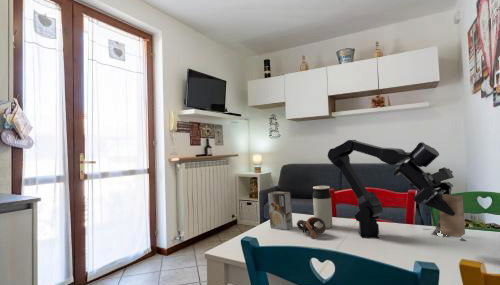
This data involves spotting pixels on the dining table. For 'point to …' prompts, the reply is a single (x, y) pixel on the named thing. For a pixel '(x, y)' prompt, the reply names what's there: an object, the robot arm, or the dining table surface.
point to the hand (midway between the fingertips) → (456, 213)
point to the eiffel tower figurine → (440, 230)
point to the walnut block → (456, 222)
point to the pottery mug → (311, 226)
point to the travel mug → (322, 206)
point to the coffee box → (280, 210)
